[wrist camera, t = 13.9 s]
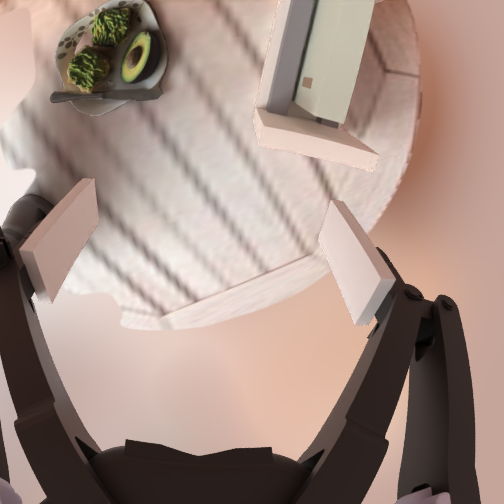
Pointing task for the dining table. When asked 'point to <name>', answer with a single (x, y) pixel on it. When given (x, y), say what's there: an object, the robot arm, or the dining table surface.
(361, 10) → the door panel
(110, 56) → the salad plate
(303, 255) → the dining table surface
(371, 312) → the robot arm
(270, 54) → the cabinet base
